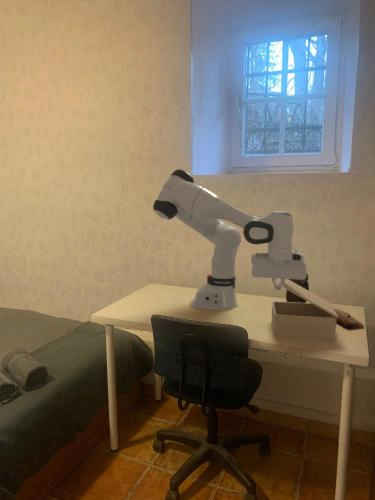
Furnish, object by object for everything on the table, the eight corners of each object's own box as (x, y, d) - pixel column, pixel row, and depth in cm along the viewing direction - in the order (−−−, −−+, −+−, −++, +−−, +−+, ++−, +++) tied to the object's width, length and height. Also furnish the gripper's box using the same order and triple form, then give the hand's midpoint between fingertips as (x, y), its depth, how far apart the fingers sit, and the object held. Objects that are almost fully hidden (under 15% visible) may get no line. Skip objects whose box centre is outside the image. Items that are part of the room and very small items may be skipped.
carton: (273, 339, 144) (274, 314, 142) (271, 324, 159) (272, 301, 158) (334, 343, 140) (336, 318, 139) (326, 327, 156) (327, 303, 154)
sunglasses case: (366, 325, 153) (358, 314, 151) (353, 337, 153) (345, 325, 151) (340, 310, 171) (332, 300, 169) (328, 320, 170) (320, 310, 169)
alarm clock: (299, 315, 170) (301, 271, 166) (283, 311, 174) (285, 269, 170) (310, 306, 181) (312, 265, 178) (295, 303, 186) (297, 263, 182)
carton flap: (283, 287, 139) (284, 286, 139) (280, 276, 155) (281, 275, 155) (337, 317, 138) (338, 316, 138) (328, 303, 154) (329, 302, 154)
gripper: (251, 254, 142) (250, 289, 145) (308, 256, 139) (305, 293, 141) (251, 251, 148) (250, 285, 151) (306, 253, 145) (303, 288, 147)
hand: (277, 289), depth 146 cm, fingers closed
